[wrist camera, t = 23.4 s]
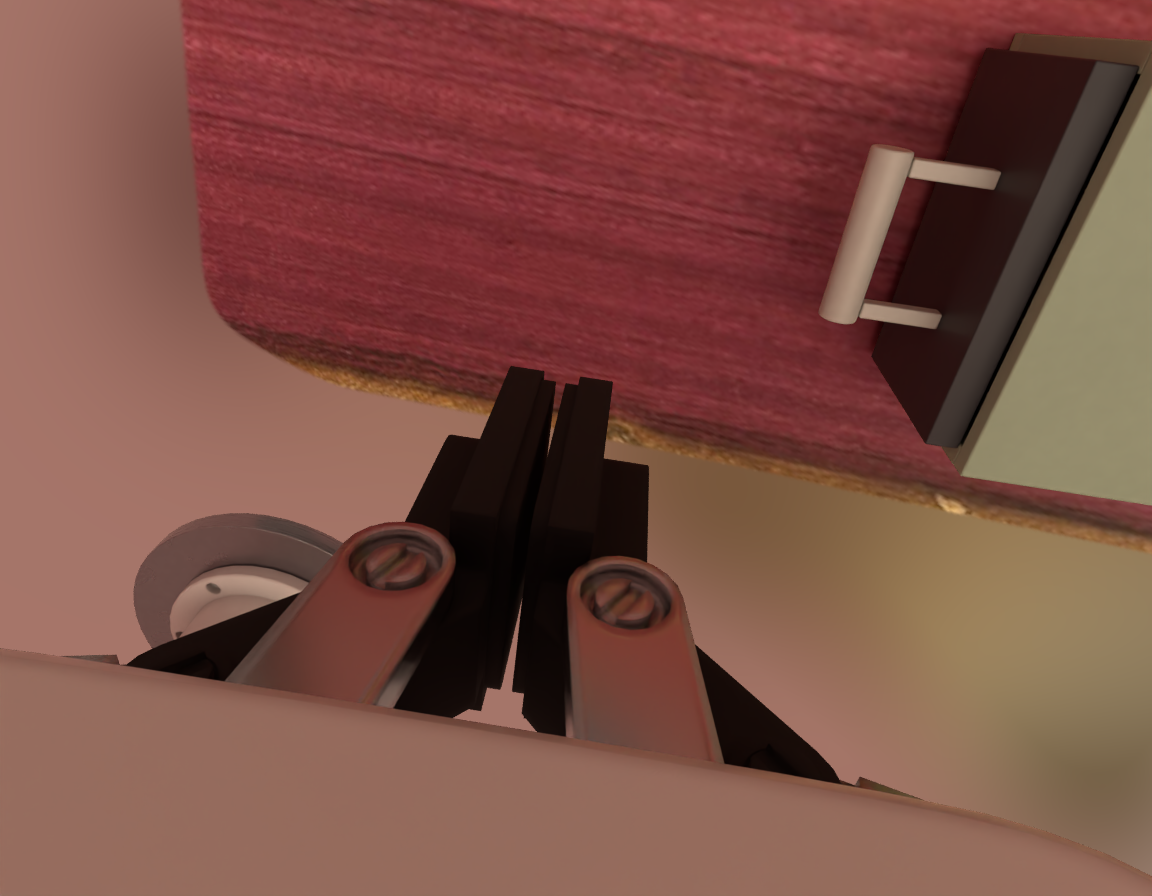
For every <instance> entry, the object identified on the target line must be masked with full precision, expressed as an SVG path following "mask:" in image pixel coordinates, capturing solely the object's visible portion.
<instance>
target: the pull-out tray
mask: <svg viewBox="0 0 1152 896" xmlns="http://www.w3.org/2000/svg"><path fill="white" fill-rule="evenodd" d="M1138 69H1139V66H1138V65H1131V64H1124V63H1117V62H1110V61H1103V60H1095V59H1086V58H1077V57H1067V56H1058V55H1049V54H1039V53H1030V52H1021V51H1011V50H1002V49H993V48H986V50H985V52H984V55H983V58H982V60H981V63H980V66H979V68H978V71H977V74H976V77H975V79H974V82H973V85H972V87H971V90H970V93H969V95H968V98H967V101H966V103H965V106H964V109H963V111H962V114H961V117H960V120H959V122H958V125H957V128H956V130H955V133H954V136H953V138H952V141H951V144H950V146H949V149H948V152H947V154H946V157H945V160H944V161H939V160H932V159H925V158H919V157H914V152H913V151H911V150H909V149H905V148H901V147H897V146H891V145H884V144H874V145H872V146H871V147H870V151H869V154H868V157H867V160H866V163H865V166H864V170H863V173H862V176H861V179H860V182H859V185H858V188H857V192H856V195H855V198H854V201H853V204H852V207H851V210H850V214H849V217H848V220H847V223H846V226H845V229H844V232H843V236H842V239H841V242H840V245H839V248H838V251H837V255H836V258H835V261H834V264H833V267H832V270H831V273H830V277H829V280H828V283H827V286H826V289H825V292H824V295H823V299H822V302H821V305H820V308H819V315H820V316H821V317H823V318H824V319H826V320H829V321H831V322H835V323H840V324H853V323H855V321H856V320H857V317H858V316H859V317H860V318H864V319H871V320H877V321H884V324H883V326H882V329H881V332H880V335H879V337H878V340H877V343H876V345H875V348H874V351H873V353H872V358H873V360H874V362H875V363H876V365H877V366H878V368H879V370H880V371H881V373H882V374H883V376H884V378H885V379H886V381H887V383H888V384H889V386H890V387H891V389H892V391H893V392H894V394H895V395H896V397H897V399H898V400H899V402H900V404H901V405H902V407H903V408H904V410H905V412H906V413H907V415H908V416H909V418H910V420H911V421H912V423H913V424H914V426H915V428H916V429H917V431H918V433H919V434H920V436H921V437H922V439H923V441H924V442H925V443H926V444H930V445H936V446H943V447H949V448H958V446H959V444H960V442H961V440H962V438H963V436H964V434H965V432H966V430H967V428H968V425H969V423H970V421H971V419H972V417H973V415H974V413H975V411H976V409H977V407H978V408H979V409H981V406H982V404H983V402H984V400H985V398H986V396H987V394H988V392H989V390H990V388H991V386H992V384H993V382H994V379H995V377H996V375H997V373H998V371H999V369H1000V367H1001V365H1002V363H1003V361H1004V359H1005V357H1006V354H1007V352H1008V350H1009V348H1010V346H1011V344H1012V342H1013V340H1014V338H1015V336H1016V334H1017V332H1018V330H1019V327H1020V325H1021V323H1022V322H1021V321H1020V320H1019V319H1020V317H1021V314H1022V312H1023V310H1024V308H1025V306H1026V304H1027V302H1028V300H1029V298H1030V296H1031V293H1032V291H1033V289H1034V287H1035V285H1036V283H1037V281H1038V279H1039V277H1040V275H1041V273H1042V270H1043V268H1044V266H1045V264H1046V262H1047V260H1048V258H1049V256H1050V254H1051V252H1052V249H1053V247H1054V245H1055V243H1056V241H1057V239H1058V237H1059V235H1060V233H1061V231H1062V229H1063V226H1064V224H1065V222H1066V220H1067V218H1068V216H1069V214H1070V212H1071V210H1072V208H1073V205H1074V203H1075V201H1076V199H1077V197H1078V195H1079V193H1080V191H1081V189H1082V187H1083V185H1084V182H1085V181H1090V180H1091V178H1092V176H1093V173H1094V171H1095V169H1096V167H1097V165H1098V163H1099V161H1100V159H1101V157H1102V155H1103V153H1104V151H1105V149H1106V146H1107V144H1108V142H1109V140H1110V138H1111V136H1112V134H1113V132H1114V130H1115V128H1116V126H1117V124H1118V121H1119V119H1120V117H1121V115H1122V113H1123V111H1124V109H1125V107H1126V105H1127V103H1128V101H1129V99H1130V97H1131V94H1132V91H1128V90H1129V88H1130V86H1131V84H1132V82H1133V80H1134V78H1135V76H1136V74H1137V71H1138ZM907 176H908V177H909V178H914V179H921V180H928V181H935V182H936V184H935V187H934V189H933V192H932V195H931V197H930V200H929V203H928V206H927V208H926V211H925V214H924V216H923V219H922V222H921V224H920V227H919V230H918V232H917V235H916V238H915V240H914V243H913V246H912V249H911V251H910V254H909V257H908V259H907V262H906V265H905V267H904V270H903V273H902V275H901V278H900V281H899V283H898V286H897V289H896V292H895V294H894V297H893V300H892V302H891V303H890V302H883V301H877V300H870V299H864V297H865V294H866V291H867V289H868V286H869V283H870V280H871V277H872V274H873V271H874V268H875V266H876V263H877V260H878V257H879V254H880V251H881V248H882V246H883V243H884V240H885V237H886V234H887V231H888V228H889V226H890V223H891V220H892V217H893V214H894V211H895V208H896V206H897V203H898V200H899V197H900V194H901V191H902V188H903V186H904V183H905V180H906V177H907Z"/></svg>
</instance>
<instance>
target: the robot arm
mask: <svg viewBox="0 0 1152 896" xmlns="http://www.w3.org/2000/svg"><path fill="white" fill-rule="evenodd" d="M612 385H613V382H612V381H605V380H599V379H592V378H586V377H580V380H579V384H578V385H573V384H567V383H566V385H565V388H564V392H563V396H562V400H561V404H560V408H559V412H558V417H557V421H556V425H555V429H554V433H553V437H552V441H551V445H550V449H549V453H548V446H549V437H550V429H551V421H552V412H553V404H554V396H555V386H556V382H554V381H547V380H544V371H540V370H534V369H527V368H521V367H514V366H511V367H510V368H509V371H508V373H507V376H506V378H505V380H504V383H503V385H502V388H501V390H500V392H499V395H498V397H497V400H496V402H495V404H494V407H493V409H492V412H491V414H490V416H489V419H488V421H487V423H486V426H485V428H484V431H483V433H482V436H481V438H480V439H476V438H469V437H463V436H456V435H449V436H448V437H447V439H446V440H445V442H444V444H443V446H442V448H441V450H440V452H439V454H438V456H437V458H436V460H435V462H434V464H433V466H432V469H431V470H430V473H429V474H428V476H427V478H426V481H425V483H424V484H423V487H422V489H421V490H420V492H419V494H418V496H417V499H416V500H415V502H414V505H413V507H412V508H411V511H410V512H409V515H408V517H407V518H406V521H405V522H388V523H383V524H378V525H375V526H370V527H368V528H366V529H363V530H361V531H359V532H357V533H355V534H354V535H352V536H351V537H350V538H349V539H348V540H346V541H345V542H344V543H343V544H342V545H341V546H340V547H339V549H338V550H337V551H336V552H335V553H334V554H333V556H332V557H331V558H330V559H329V560H328V561H327V562H326V564H325V565H324V566H323V567H322V568H321V569H320V571H319V572H318V573H317V574H316V575H315V576H314V578H313V579H312V580H311V581H310V582H309V583H308V582H306V581H304V580H302V579H300V578H297V577H295V576H293V575H290V574H287V573H284V572H280V571H277V570H274V569H269V568H263V567H257V566H228V567H221V568H216V569H213V570H211V571H208V572H205V573H203V574H201V575H200V576H198V577H197V578H195V579H194V580H192V581H191V582H190V583H189V584H188V585H187V586H186V588H185V589H184V590H183V591H182V592H181V593H180V594H179V596H178V597H177V599H176V601H175V602H174V604H173V606H172V610H171V614H170V630H171V633H172V636H173V640H172V641H169V642H167V643H164V644H162V645H159V646H157V647H155V648H153V649H151V650H149V651H147V652H145V653H143V654H141V655H139V656H137V657H136V658H135V659H133V660H132V661H131V662H129V663H128V664H127V665H120V664H119V661H118V658H117V655H90V656H54V655H47V654H41V653H34V652H26V651H17V650H10V649H1V648H0V896H1152V876H1150V875H1148V874H1146V873H1144V872H1142V871H1140V870H1138V869H1136V868H1134V867H1132V866H1130V865H1128V864H1126V863H1124V862H1122V861H1120V860H1117V859H1116V858H1114V857H1111V856H1109V855H1107V854H1105V853H1102V852H1099V851H1097V850H1094V849H1092V848H1089V847H1086V846H1084V845H1081V844H1079V843H1076V842H1073V841H1071V840H1068V839H1065V838H1062V837H1060V836H1057V835H1054V834H1052V833H1049V832H1047V831H1044V830H1040V829H1037V828H1033V827H1030V826H1026V825H1023V824H1020V823H1016V822H1013V821H1009V820H1006V819H1002V818H999V817H996V816H992V815H989V814H985V813H980V812H975V811H970V810H966V809H961V808H956V807H951V806H947V805H942V804H936V803H933V802H928V801H924V800H922V799H919V798H917V797H914V796H911V795H908V794H906V793H903V792H900V791H897V790H895V789H892V788H889V787H887V786H884V785H881V784H878V783H876V782H873V781H870V780H867V779H865V778H862V777H859V779H858V781H857V783H856V785H852V784H849V783H847V782H844V781H841V780H839V778H838V777H837V775H836V773H835V771H834V770H833V768H832V767H831V766H830V765H829V764H828V763H827V762H826V761H825V760H824V758H822V756H821V755H820V754H819V753H818V752H817V751H816V750H815V749H813V748H812V747H811V746H810V745H809V744H808V743H807V742H805V741H804V740H803V739H802V738H801V737H800V736H798V735H797V734H796V733H795V732H794V731H793V730H792V729H791V728H789V727H788V726H787V725H786V724H785V723H784V722H783V721H782V720H780V719H779V718H778V717H777V716H776V715H775V714H774V713H773V712H771V711H770V710H769V709H768V708H767V707H766V706H765V705H763V704H762V703H761V702H760V701H759V700H758V699H757V698H755V697H754V696H753V695H752V694H751V693H750V692H749V691H748V690H746V689H745V688H744V687H743V686H742V685H741V684H739V683H738V682H737V681H736V680H735V679H734V678H733V677H732V676H730V675H729V674H728V673H727V672H726V671H725V670H723V668H721V667H720V666H719V665H718V664H717V663H716V662H715V661H713V660H712V659H711V658H710V657H709V656H708V655H707V654H705V653H704V652H703V651H702V650H701V649H700V648H699V647H698V646H696V645H695V643H694V639H693V635H692V631H691V627H690V623H689V619H688V615H687V611H686V607H685V603H684V600H683V597H682V594H681V592H680V590H679V588H678V586H677V585H676V583H675V582H674V581H673V580H672V579H671V578H670V577H669V576H668V575H667V574H666V573H665V572H663V571H661V570H660V569H658V568H657V567H655V566H654V565H652V564H649V563H647V538H648V491H649V488H648V487H649V467H648V465H642V464H636V463H630V462H623V461H617V460H610V459H604V450H605V442H606V434H607V426H608V418H609V410H610V402H611V393H612ZM547 454H548V457H547ZM522 596H523V597H522ZM521 601H522V606H521V615H520V624H519V633H518V642H517V651H516V660H515V670H514V678H513V687H512V691H513V692H517V693H524V699H523V707H522V714H523V716H524V718H526V719H527V720H528V721H529V723H530V724H531V725H532V726H533V728H534V729H535V730H536V731H537V732H532V731H527V730H521V729H514V728H508V727H502V726H496V725H490V724H484V723H478V722H472V721H466V720H460V719H454V718H453V717H455V716H457V715H459V714H461V713H462V712H464V711H466V710H468V709H471V710H478V711H481V709H482V705H483V701H484V697H485V693H486V689H487V688H493V689H499V690H500V689H501V686H502V682H503V678H504V674H505V669H506V665H507V661H508V656H509V652H510V648H511V644H512V639H513V635H514V631H515V626H516V622H517V618H518V614H519V609H520V605H521Z"/></svg>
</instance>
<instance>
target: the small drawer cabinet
mask: <svg viewBox="0 0 1152 896" xmlns="http://www.w3.org/2000/svg"><path fill="white" fill-rule="evenodd" d="M1009 50H1011V51H1021V52H1030V53H1039V54H1049V55H1058V56H1067V57H1077V58H1086V59H1095V60H1103V61H1110V62H1117V63H1124V64H1131V65H1138V66H1139V69H1138V71H1137V74H1136V76H1135V78H1134V80H1133V82H1132V84H1131V86H1130V88H1129V90H1128V91H1132V94H1131V97H1130V99H1129V101H1128V103H1127V105H1126V107H1125V109H1124V111H1123V113H1122V115H1121V117H1120V119H1119V121H1118V124H1117V126H1116V128H1115V130H1114V132H1113V134H1112V136H1111V138H1110V140H1109V142H1108V144H1107V146H1106V149H1105V151H1104V153H1103V155H1102V157H1101V159H1100V161H1099V163H1098V165H1097V167H1096V169H1095V171H1094V173H1093V176H1092V178H1091V180H1090V182H1089V184H1088V186H1087V188H1086V190H1085V192H1084V194H1083V196H1082V198H1081V201H1080V203H1079V205H1078V207H1077V209H1076V211H1075V213H1074V215H1073V217H1072V219H1071V221H1070V223H1069V226H1068V228H1067V230H1066V232H1065V234H1064V236H1063V238H1062V240H1061V242H1060V244H1059V246H1058V248H1057V250H1056V253H1055V255H1054V257H1053V259H1052V261H1051V263H1050V265H1049V267H1048V269H1047V271H1046V273H1045V275H1044V278H1043V280H1042V282H1041V284H1040V286H1039V288H1038V290H1037V292H1036V294H1035V296H1034V298H1033V300H1032V302H1031V305H1030V307H1029V309H1028V311H1027V313H1026V315H1025V317H1024V319H1023V321H1022V323H1021V325H1020V327H1019V330H1018V332H1017V334H1016V336H1015V338H1014V340H1013V342H1012V344H1011V346H1010V348H1009V350H1008V352H1007V354H1006V357H1005V359H1004V361H1003V363H1002V365H1001V367H1000V369H999V371H998V373H997V375H996V377H995V379H994V382H993V384H992V386H991V388H990V390H989V392H988V394H987V396H986V398H985V400H984V402H983V404H982V406H981V409H979V408H978V407H977V409H976V411H975V413H974V415H973V417H972V419H971V421H970V423H969V425H968V428H967V430H966V432H965V434H964V436H963V438H962V440H961V442H960V444H959V446H958V448H949V447H943V446H941V447H942V448H943V450H944V451H945V453H946V454H947V456H948V458H949V459H950V461H951V462H952V464H954V466H955V468H956V469H957V471H958V472H959V474H960V475H961V476H965V477H971V478H978V479H984V480H991V481H997V482H1004V483H1010V484H1016V485H1023V486H1029V487H1036V488H1042V489H1049V490H1055V491H1062V492H1068V493H1074V494H1081V495H1087V496H1094V497H1100V498H1107V499H1113V500H1120V501H1126V502H1132V503H1139V504H1145V505H1152V41H1146V40H1129V39H1111V38H1094V37H1076V36H1059V35H1041V34H1023V33H1016V34H1015V36H1014V39H1013V42H1012V44H1011V47H1010V49H1009Z"/></svg>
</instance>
